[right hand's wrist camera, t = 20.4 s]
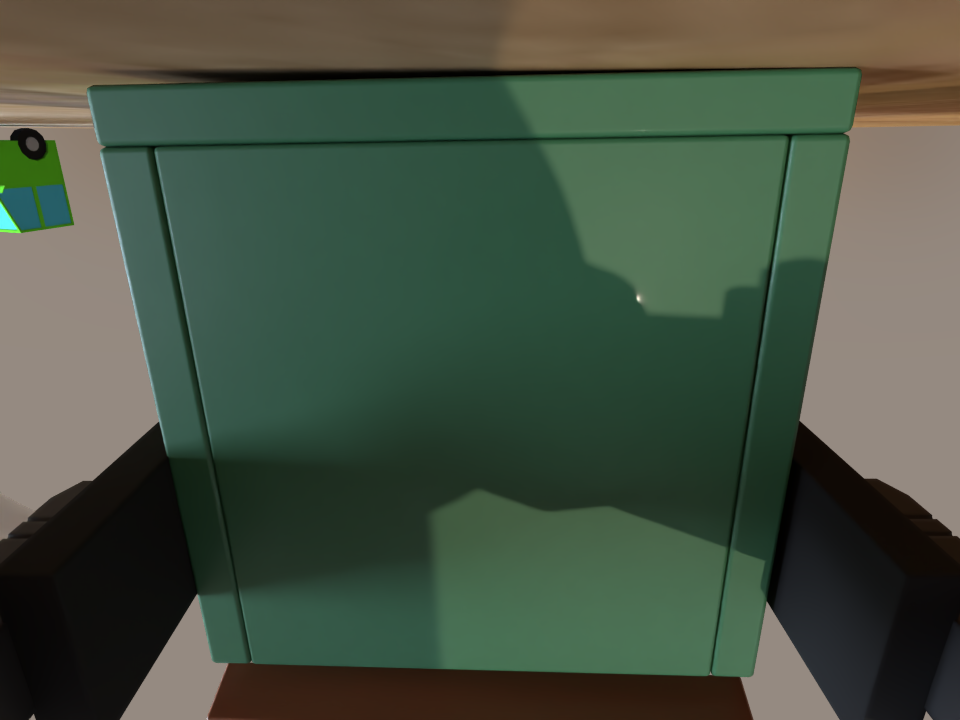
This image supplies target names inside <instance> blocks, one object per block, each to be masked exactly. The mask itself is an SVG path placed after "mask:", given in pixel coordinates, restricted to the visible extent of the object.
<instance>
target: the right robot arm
mask: <svg viewBox="0 0 960 720" xmlns="http://www.w3.org/2000/svg"><path fill="white" fill-rule="evenodd" d="M196 595H197V590H196V585H195V581H194V576H193V572H192V567H191V563H190V558H189V554H188V549H187V545H186V540H185V536H184V531H183V527H182V522H181V517H180V512H179V507H178V503H177V498H176V493H175V488H174V483H173V478H172V473H171V469H170V464H169V459H168V456H167V454H166V450H165V445H164V441H163V436H162V432H161V427H160V423H159V422H158V423H157V424H156V425H155V426H154V427H152V428H151V429H150V430H149V431H148V432H147V433H146V434H145V435H143V436H142V437H141V438H140V439H139V440H138V441H137V442H136V443H135V444H133V445H132V446H131V447H130V448H129V449H128V450H127V451H126V452H125V453H123V454H122V455H121V456H120V457H119V458H118V459H117V460H116V461H114V462H113V463H112V464H111V465H110V466H109V467H108V468H107V469H105V470H104V471H103V472H102V473H101V474H100V475H99V476H98V477H97V478H96V479H94V480H93V481H82V482H80V483H78V484H76V485H75V486H73V487H71V488H69V489H67V490H65V491H63V492H61V493H59V494H57V495H56V496H54V497H52V498H50V499H49V500H48V501H47V502H46V503H44V504H43V505H42V506H41V507H40V508H39V509H37V510H36V511H35V512H34V513H33V514H31V515H30V516H29V517H28V521H27V522H22V523H21V524H20V525H19V526H17V527H16V528H15V529H14V530H13V531H11V532H10V533H9V534H8V538H7V539H2V540H1V541H0V720H29V719H30V718H31V716H32V715H33V714H34V716H35V718H36V720H120V718H121V717H122V715H123V713H124V712H125V710H126V708H127V707H128V705H129V704H130V702H131V700H132V699H133V697H134V695H135V694H136V692H137V691H138V689H139V687H140V686H141V684H142V682H143V681H144V679H145V678H146V676H147V674H148V673H149V671H150V669H151V668H152V666H153V664H154V663H155V661H156V660H157V658H158V656H159V655H160V653H161V652H162V650H163V648H164V647H165V645H166V643H167V642H168V640H169V638H170V637H171V635H172V634H173V632H174V630H175V629H176V627H177V626H178V624H179V622H180V621H181V619H182V617H183V616H184V614H185V612H186V611H187V609H188V608H189V606H190V604H191V603H192V601H193V599H194V598H195V596H196ZM767 602H768V604H769V605H770V607H771V609H772V610H773V612H774V613H775V615H776V617H777V618H778V620H779V622H780V623H781V625H782V626H783V628H784V630H785V631H786V633H787V635H788V636H789V638H790V640H791V641H792V643H793V644H794V646H795V648H796V649H797V651H798V652H799V654H800V656H801V657H802V659H803V661H804V662H805V664H806V666H807V667H808V669H809V670H810V672H811V674H812V675H813V677H814V679H815V680H816V682H817V683H818V685H819V687H820V688H821V690H822V692H823V693H824V695H825V696H826V698H827V700H828V701H829V703H830V705H831V706H832V708H833V709H834V711H835V713H836V714H837V716H838V718H839V719H840V720H923V718H924V716H925V713H926V711H927V713H928V714H929V715H930V716H931V718H932V719H933V720H960V538H958V537H957V536H952V532H951V531H950V530H949V529H948V528H947V527H945V526H944V525H943V524H942V523H941V522H940V521H938V520H937V519H932V515H931V514H930V513H929V512H928V511H926V510H925V509H924V508H923V507H922V506H921V505H919V504H918V503H917V502H916V501H915V500H913V499H912V498H911V497H910V496H909V495H907V494H905V493H903V492H901V491H899V490H897V489H895V488H893V487H891V486H890V485H888V484H886V483H884V482H882V481H880V480H878V479H864V478H863V477H862V476H861V475H859V474H858V473H857V472H856V471H855V470H854V469H853V468H852V467H850V466H849V465H848V464H847V463H846V462H845V461H844V460H843V459H842V458H840V457H839V456H838V455H837V454H836V453H835V452H834V451H833V450H832V449H830V448H829V447H828V446H827V445H826V444H825V443H824V442H823V441H821V440H820V439H819V438H818V437H817V436H816V435H815V434H814V433H813V432H811V431H810V430H809V429H808V428H807V427H806V426H805V425H804V424H802V423H801V422H800V421H799V425H798V430H797V436H796V441H795V447H794V452H793V458H792V464H791V469H790V475H789V480H788V486H787V491H786V497H785V502H784V508H783V513H782V519H781V524H780V530H779V535H778V541H777V546H776V552H775V557H774V563H773V569H772V574H771V580H770V585H769V591H768V596H767Z"/></svg>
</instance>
